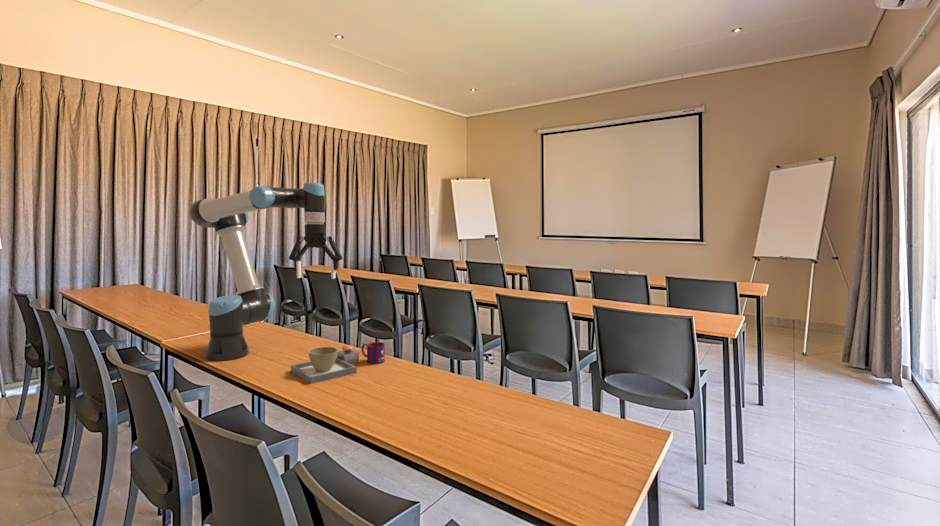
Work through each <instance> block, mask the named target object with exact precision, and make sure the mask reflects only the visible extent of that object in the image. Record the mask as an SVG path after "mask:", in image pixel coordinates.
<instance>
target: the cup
mask: <svg viewBox="0 0 940 526" xmlns="http://www.w3.org/2000/svg"><path fill="white" fill-rule="evenodd" d="M365 346H366V353H365V351H364V350H365V349H364V348H365ZM385 346H386V344H385V343H384V342H381V341H380V342H378V341H376V342H375V341H374V342H369V343H363V344H362V346H361V353H362V355H363V356H364V357H365V358H366V359H367V361H366V362H367V363H368V364H370V365H380V364H384V363H385V361H386V353H385V352H386V351H385V350H386V347H385Z"/></svg>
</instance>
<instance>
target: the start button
mask: <svg viewBox="0 0 940 526" xmlns="http://www.w3.org/2000/svg"><path fill="white" fill-rule="evenodd" d="M352 349H353V350H354V345H343V346H342V350H345V353H351V350H352ZM342 350H341V351H342Z"/></svg>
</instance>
